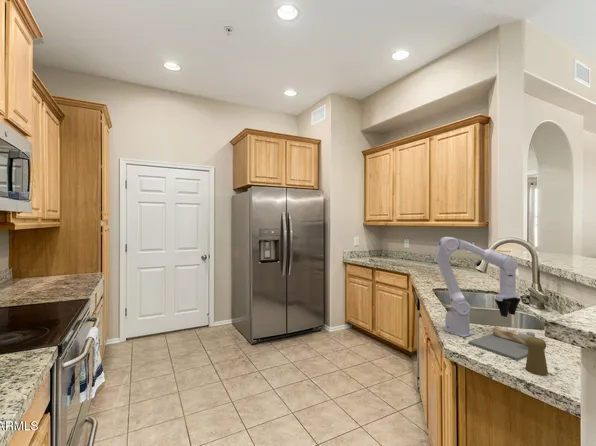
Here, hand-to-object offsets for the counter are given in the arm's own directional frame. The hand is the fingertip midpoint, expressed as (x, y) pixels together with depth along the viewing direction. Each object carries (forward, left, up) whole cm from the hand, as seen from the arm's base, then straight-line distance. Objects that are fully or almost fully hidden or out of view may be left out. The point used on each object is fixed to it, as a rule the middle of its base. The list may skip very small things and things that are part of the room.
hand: (507, 315), depth 132 cm
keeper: (+12, -11, -8) cm, 18 cm away
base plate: (+5, -13, -9) cm, 17 cm away
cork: (+21, -26, -10) cm, 35 cm away
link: (+5, -6, -8) cm, 11 cm away
